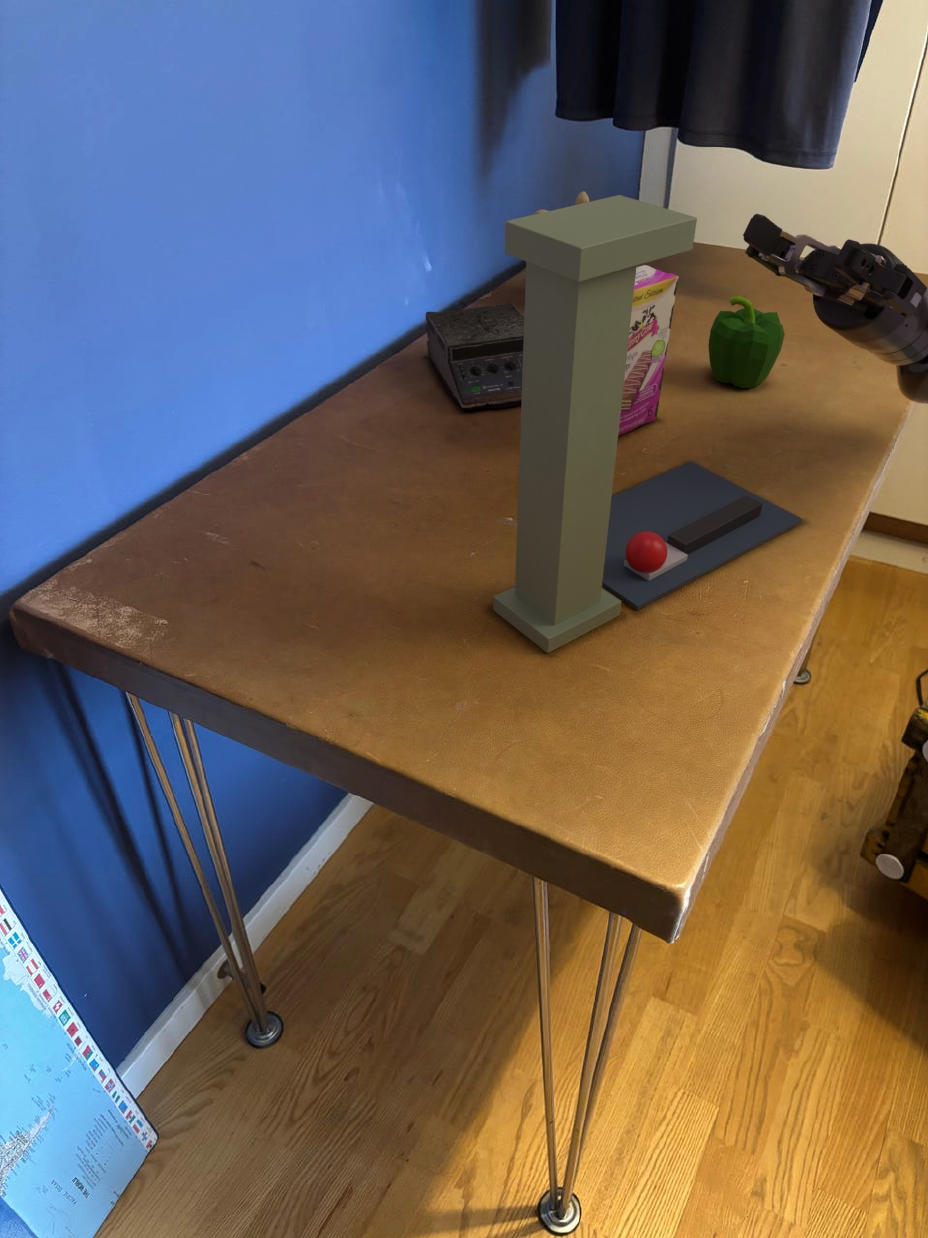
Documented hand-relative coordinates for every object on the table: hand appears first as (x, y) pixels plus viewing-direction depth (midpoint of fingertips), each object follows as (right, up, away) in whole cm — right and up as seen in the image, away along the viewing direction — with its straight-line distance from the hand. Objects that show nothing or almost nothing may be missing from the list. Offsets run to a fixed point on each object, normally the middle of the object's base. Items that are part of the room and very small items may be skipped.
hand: (795, 239), depth 71 cm
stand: (-17, -28, +6) cm, 34 cm away
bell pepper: (+8, 0, +41) cm, 42 cm away
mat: (-7, -21, +15) cm, 27 cm away
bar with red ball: (-5, -22, +13) cm, 26 cm away
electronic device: (-23, 0, +42) cm, 48 cm away
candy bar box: (-9, -8, +31) cm, 34 cm away
